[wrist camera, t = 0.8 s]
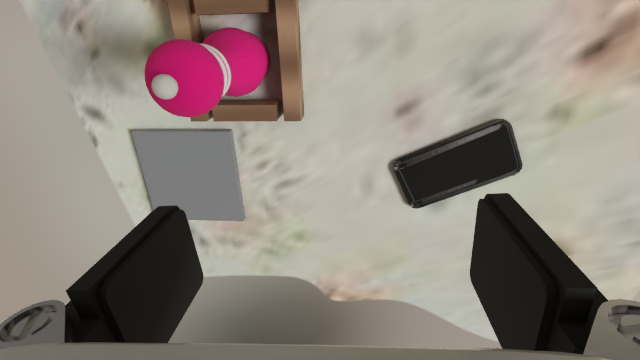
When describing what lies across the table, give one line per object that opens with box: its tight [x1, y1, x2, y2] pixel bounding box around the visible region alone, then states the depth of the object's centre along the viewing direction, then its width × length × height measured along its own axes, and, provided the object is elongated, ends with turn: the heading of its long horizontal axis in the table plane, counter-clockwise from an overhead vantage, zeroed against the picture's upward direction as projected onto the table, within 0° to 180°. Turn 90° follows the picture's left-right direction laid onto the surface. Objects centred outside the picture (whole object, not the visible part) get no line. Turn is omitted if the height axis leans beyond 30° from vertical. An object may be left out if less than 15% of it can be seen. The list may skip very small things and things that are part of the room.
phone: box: [394, 119, 522, 208], centre depth 44 cm, size 8×1×15 cm
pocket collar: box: [167, 0, 304, 121], centre depth 40 cm, size 14×14×3 cm
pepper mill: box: [145, 28, 270, 117], centre depth 32 cm, size 7×7×20 cm
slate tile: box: [131, 130, 245, 221], centre depth 49 cm, size 14×14×1 cm
